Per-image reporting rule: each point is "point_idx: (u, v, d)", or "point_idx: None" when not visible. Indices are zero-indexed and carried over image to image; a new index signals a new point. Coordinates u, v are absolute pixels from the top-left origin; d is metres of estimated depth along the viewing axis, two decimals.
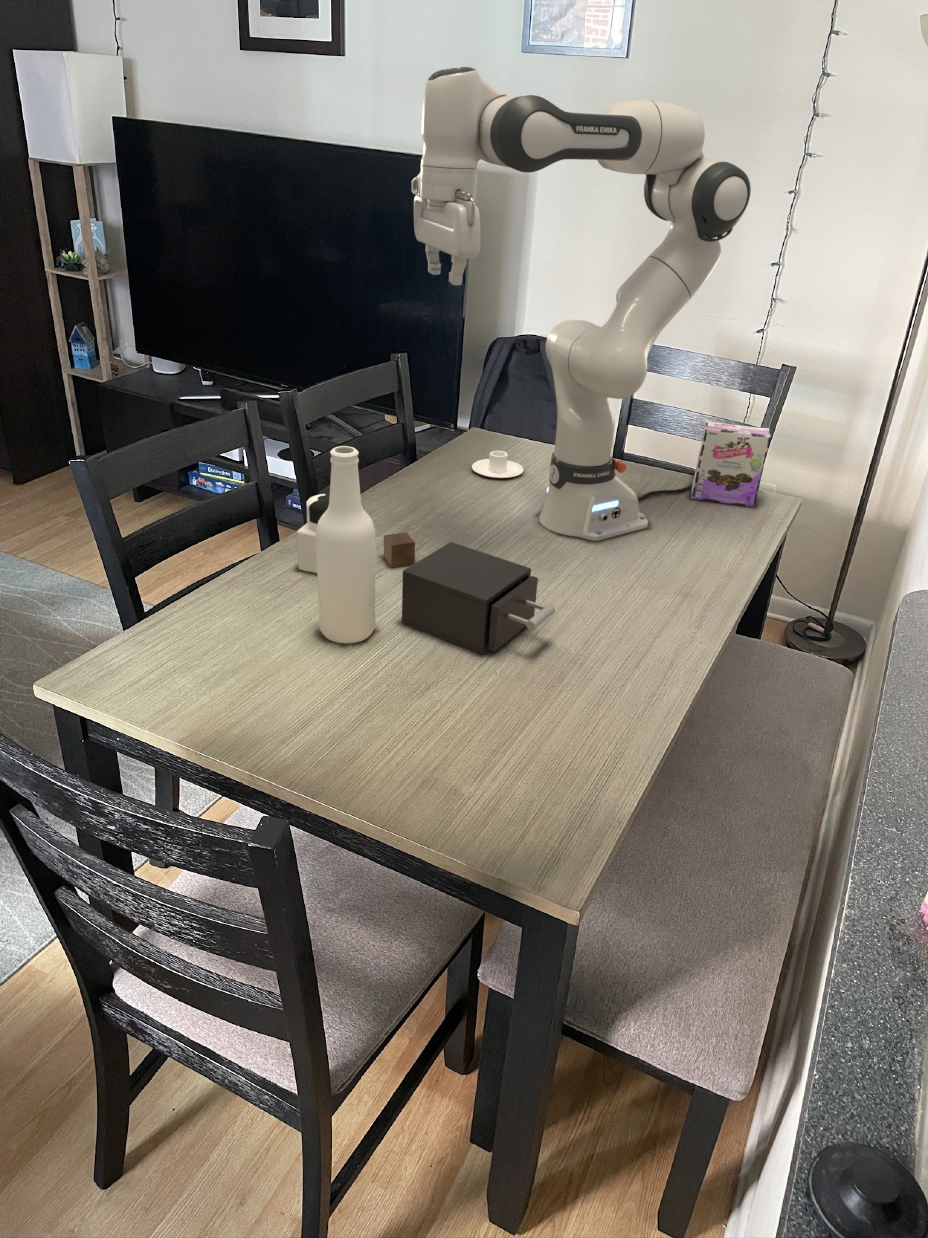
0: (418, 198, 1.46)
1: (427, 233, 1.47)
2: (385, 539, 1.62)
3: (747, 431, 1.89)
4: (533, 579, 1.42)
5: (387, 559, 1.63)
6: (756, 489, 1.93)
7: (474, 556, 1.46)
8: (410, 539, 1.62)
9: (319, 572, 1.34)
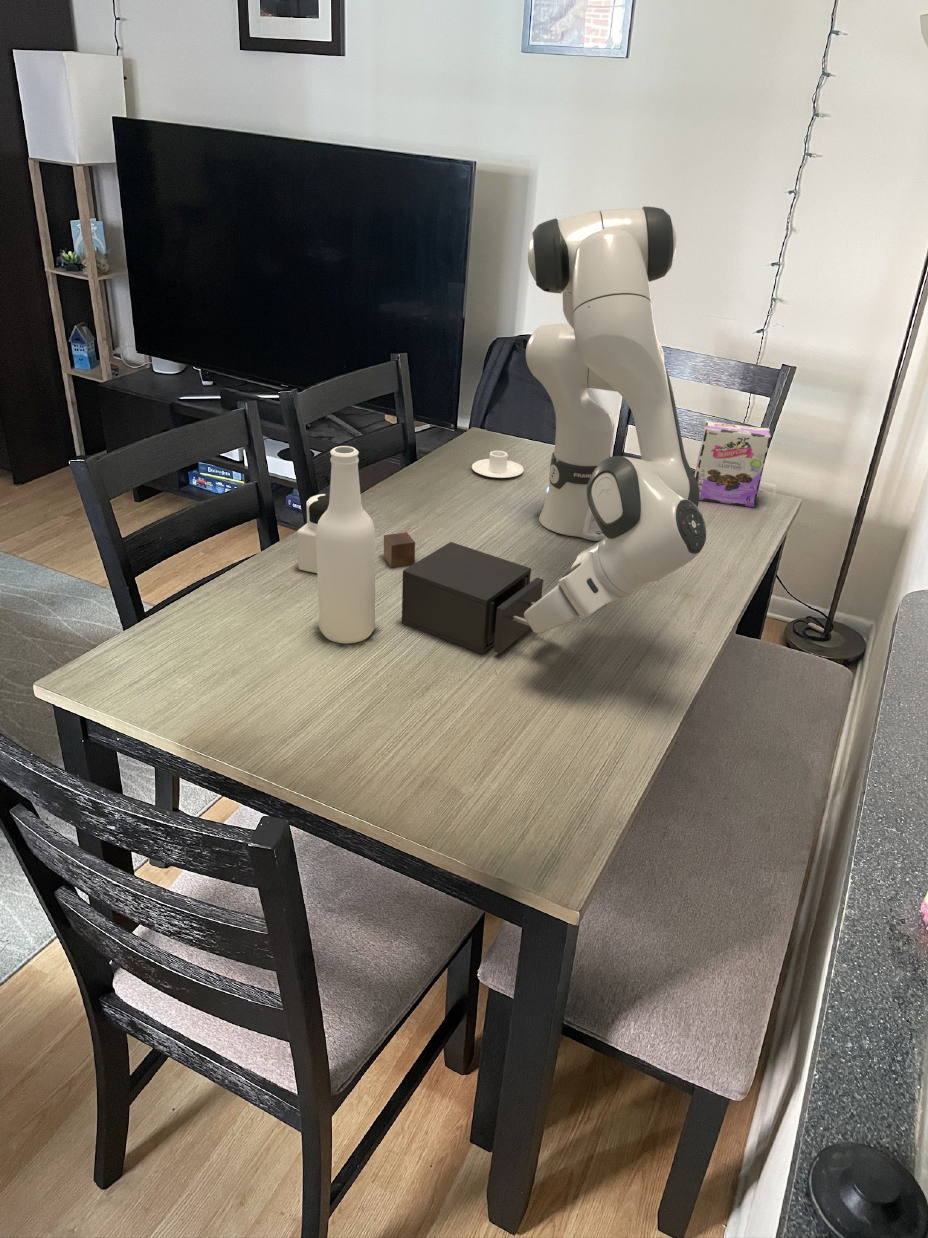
0: None
1: None
2: (385, 539, 1.62)
3: (747, 431, 1.89)
4: (538, 581, 1.41)
5: (387, 559, 1.63)
6: (756, 489, 1.93)
7: (474, 556, 1.46)
8: (410, 539, 1.62)
9: (319, 572, 1.34)
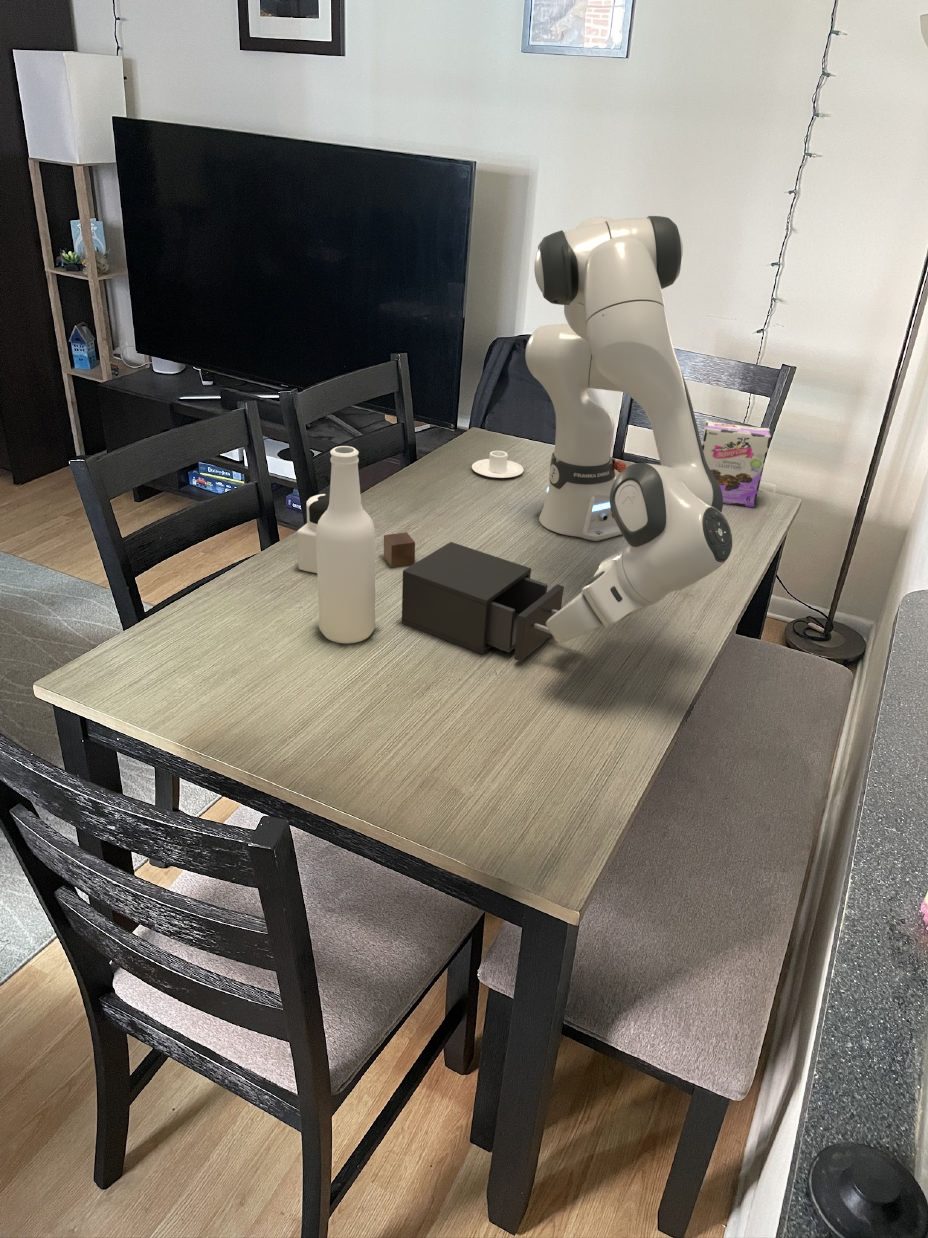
0: None
1: None
2: (385, 539, 1.62)
3: (747, 431, 1.89)
4: (559, 588, 1.39)
5: (387, 559, 1.63)
6: (756, 489, 1.93)
7: (474, 556, 1.46)
8: (410, 539, 1.62)
9: (319, 572, 1.34)
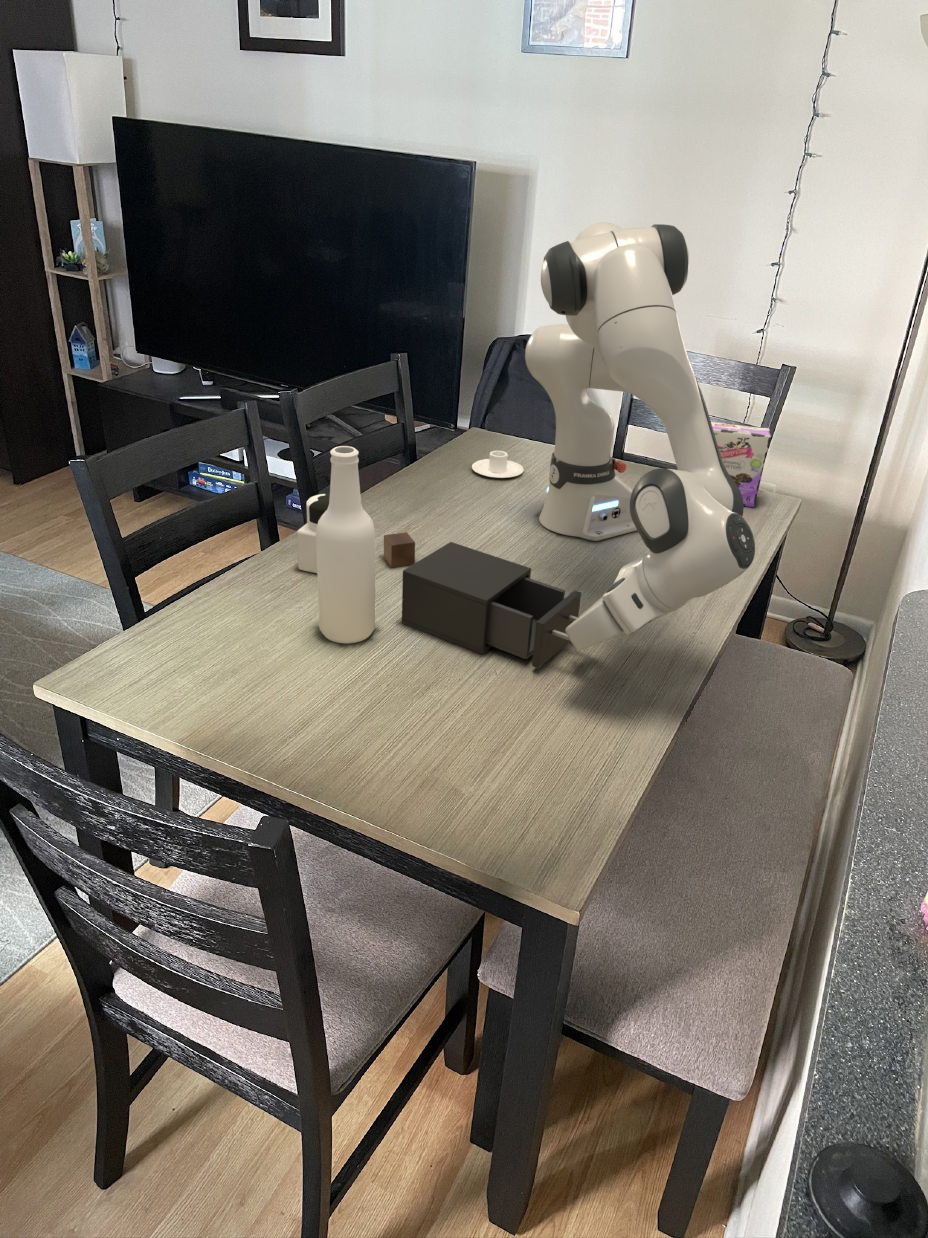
0: None
1: None
2: (385, 539, 1.62)
3: (747, 431, 1.89)
4: (577, 594, 1.38)
5: (387, 559, 1.63)
6: (756, 489, 1.93)
7: (474, 556, 1.46)
8: (410, 539, 1.62)
9: (319, 572, 1.34)
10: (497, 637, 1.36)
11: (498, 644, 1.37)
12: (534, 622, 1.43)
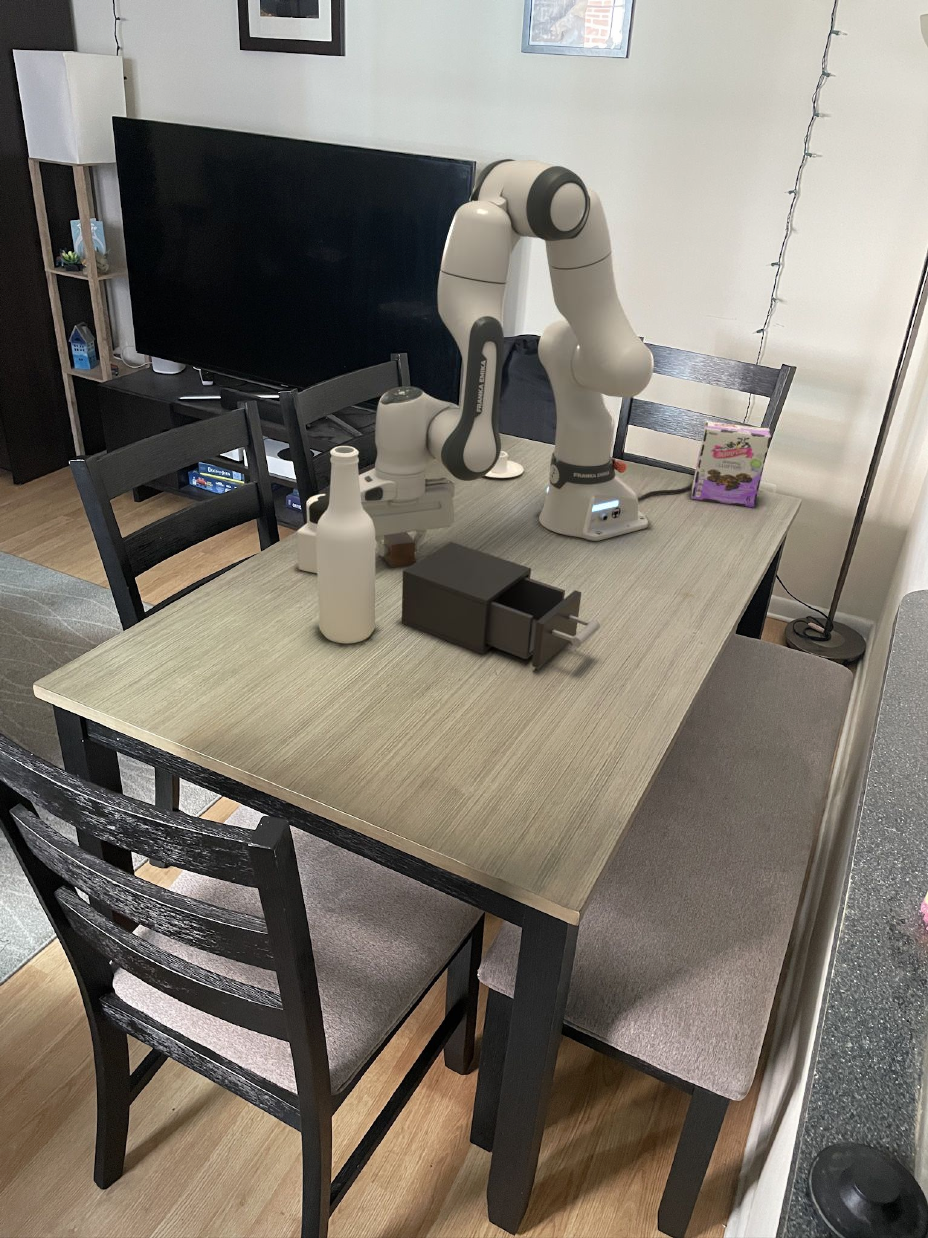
0: (372, 503, 1.53)
1: (382, 526, 1.57)
2: (385, 539, 1.62)
3: (747, 431, 1.89)
4: (577, 594, 1.38)
5: (387, 559, 1.63)
6: (756, 489, 1.93)
7: (474, 556, 1.46)
8: (410, 539, 1.62)
9: (319, 572, 1.34)
10: (497, 637, 1.36)
11: (498, 644, 1.37)
12: (534, 622, 1.43)
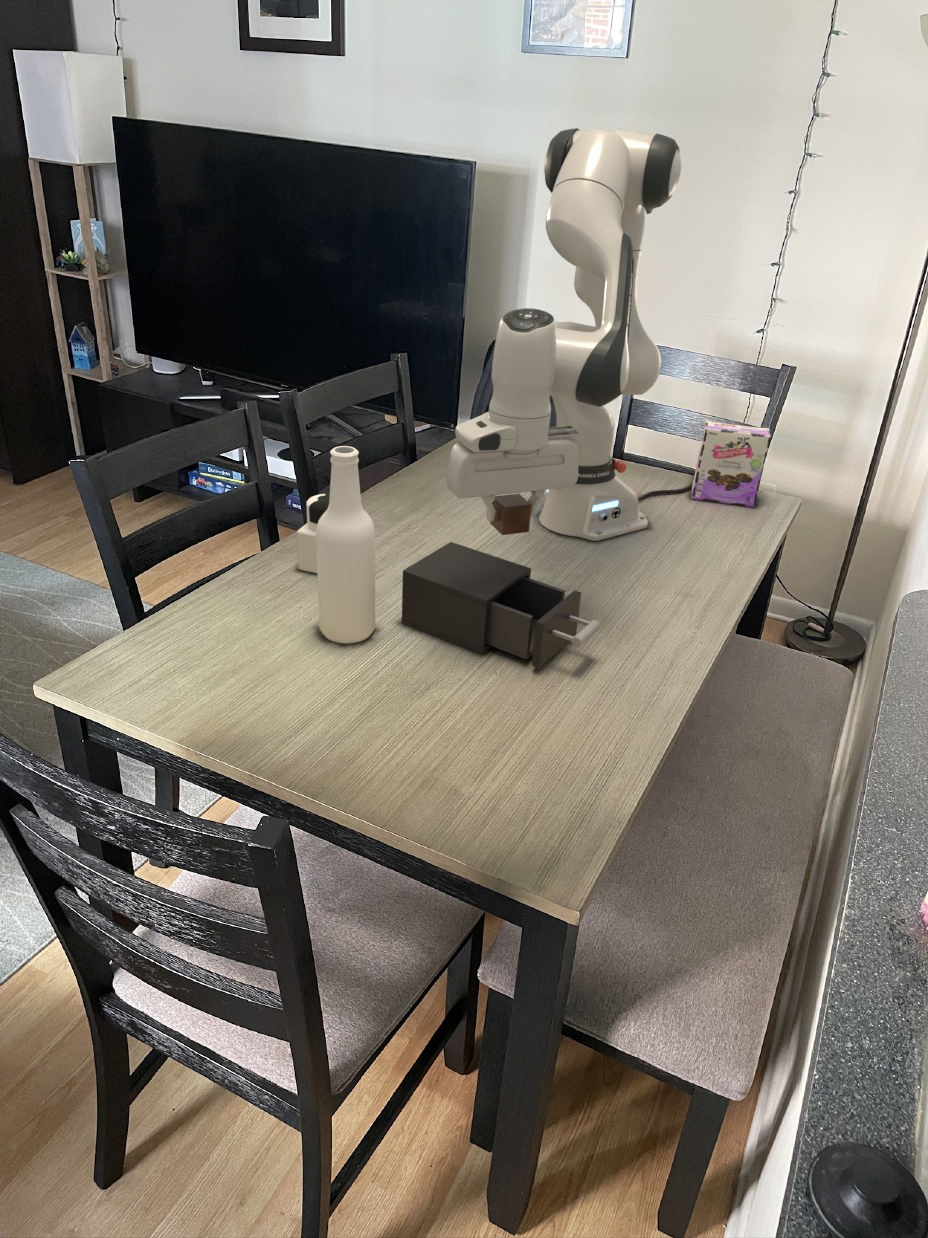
0: (486, 454, 1.25)
1: (495, 484, 1.29)
2: (494, 501, 1.34)
3: (747, 431, 1.89)
4: (577, 594, 1.38)
5: (495, 525, 1.35)
6: (756, 489, 1.93)
7: (474, 556, 1.46)
8: (525, 501, 1.34)
9: (319, 572, 1.34)
10: (497, 637, 1.36)
11: (498, 644, 1.37)
12: (534, 622, 1.43)
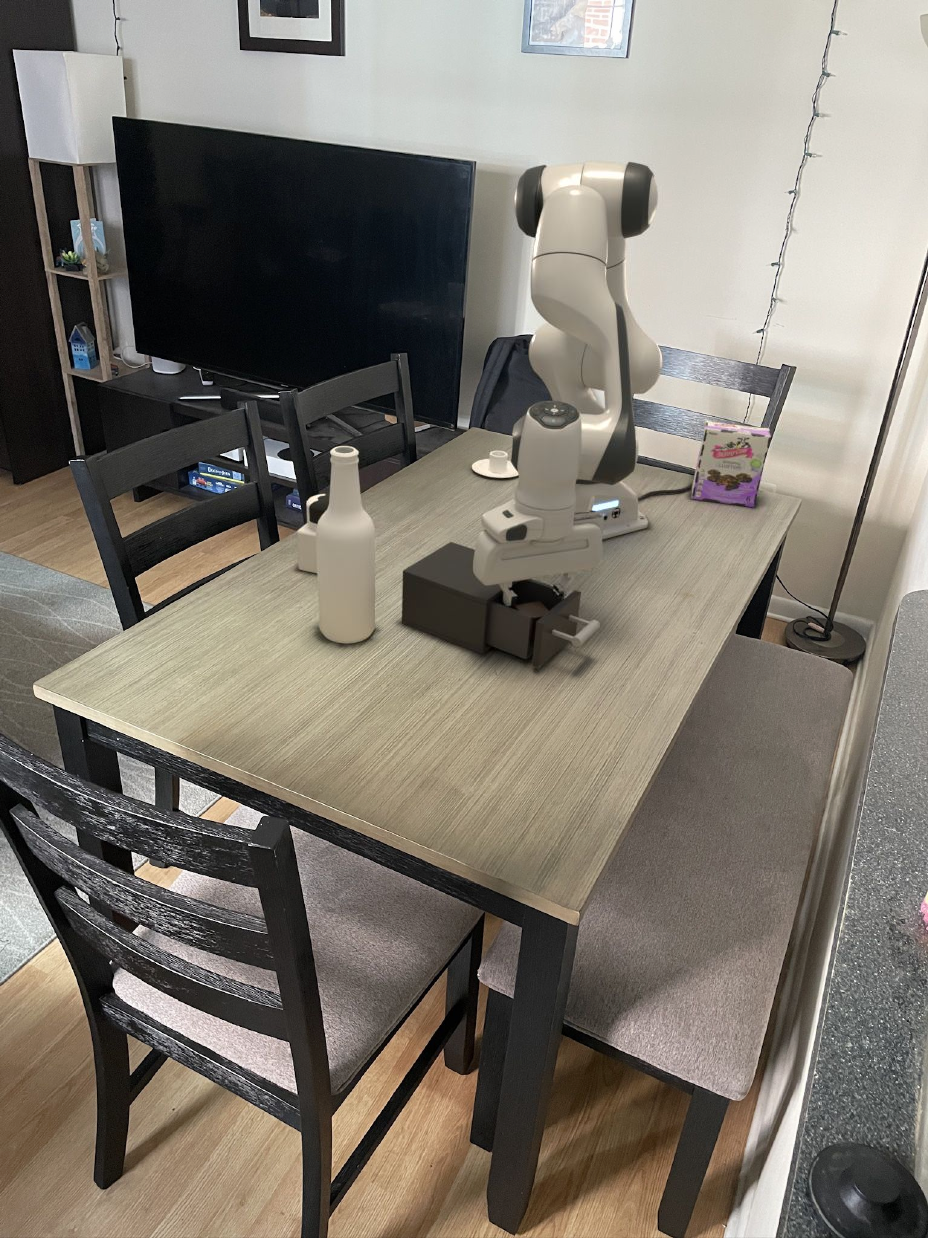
0: (513, 544, 1.26)
1: (521, 570, 1.30)
2: None
3: (747, 431, 1.89)
4: (576, 594, 1.38)
5: None
6: (756, 489, 1.93)
7: None
8: (546, 611, 1.37)
9: (319, 572, 1.34)
10: (497, 637, 1.36)
11: (498, 644, 1.37)
12: None
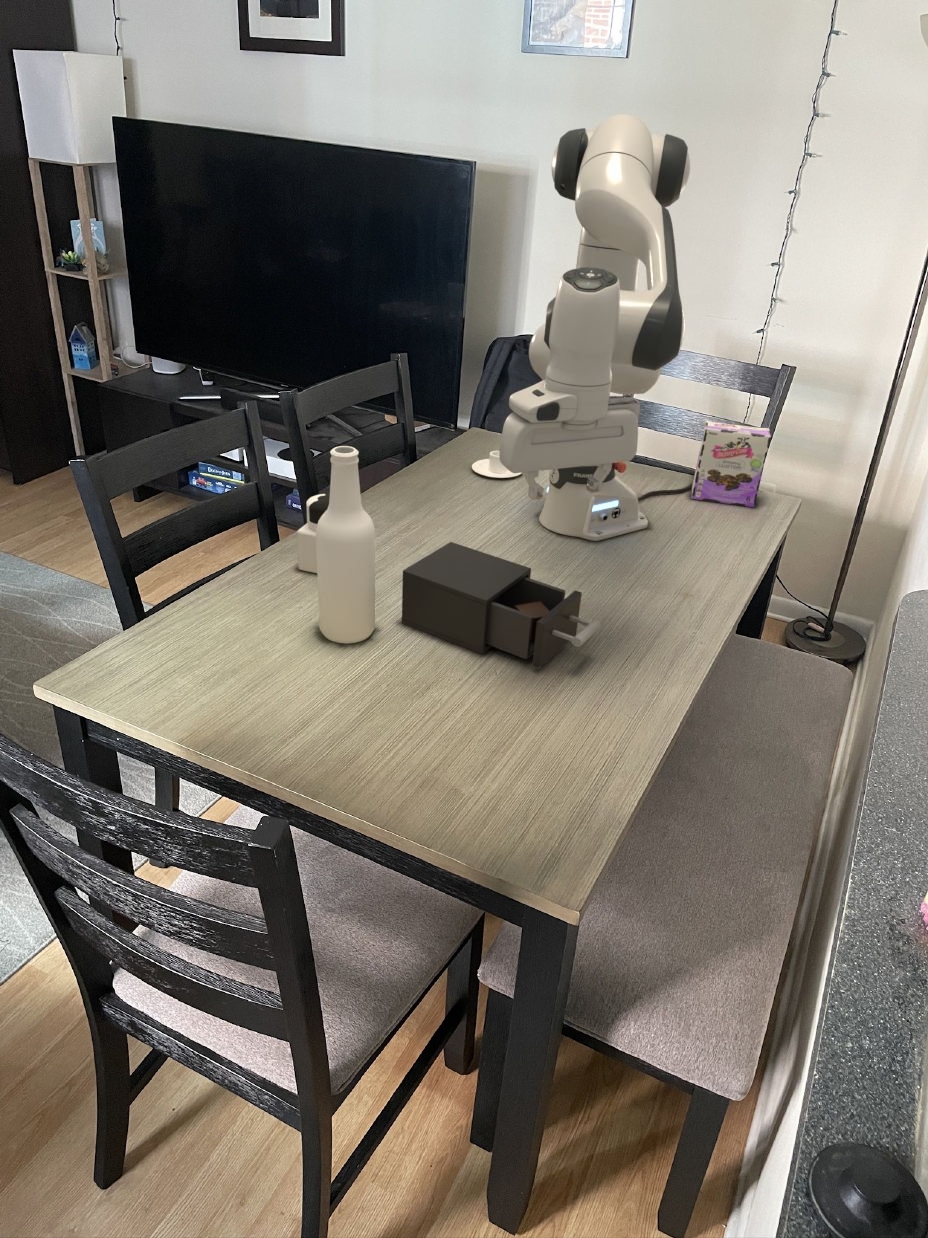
0: (544, 425, 1.17)
1: (551, 457, 1.21)
2: None
3: (747, 431, 1.89)
4: (577, 594, 1.38)
5: None
6: (756, 489, 1.93)
7: (474, 556, 1.46)
8: (547, 611, 1.37)
9: (319, 572, 1.34)
10: (497, 637, 1.36)
11: (498, 644, 1.37)
12: None
